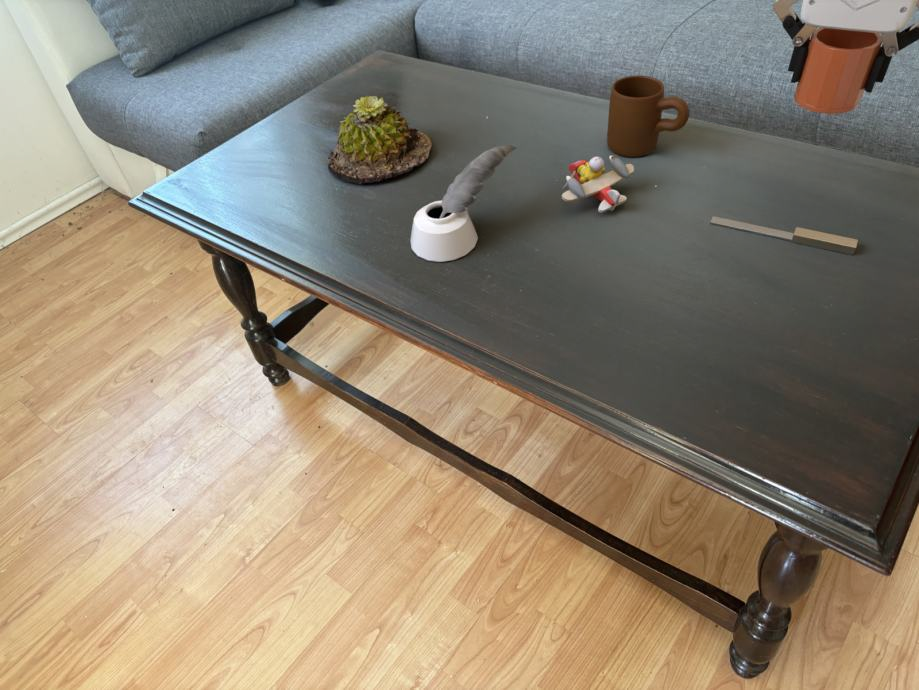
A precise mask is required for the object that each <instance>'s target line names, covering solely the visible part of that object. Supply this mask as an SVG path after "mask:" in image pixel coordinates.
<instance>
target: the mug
mask: <svg viewBox="0 0 919 690" xmlns="http://www.w3.org/2000/svg"><path fill="white" fill-rule="evenodd" d="M608 105H609V106H608V119H607V133H606V134H607V135H606V144H607V147H608V149H609V150H610V151H611V152H612V153H614V154H615V155H618V156H621V157H625V158H639V157H644V156H647V155H648V154H651V153H652V152H653V151H654V150H656V147H657V145H658V141H659V137H660V135H659V134H660V133H661V132H677V131H679V130H681V129H683V128H684V127H685V126H686V124H687V123H688V121H689V118H690V108H689V105H688V103H687V102H686V101H685V100H684V99H683V98H681V97H678V96H667V97H665V85H664V83H663V82H662V81H661V80H660V79H658V78H655V77H653V76H649V75H641V74H639V75H627V76H625V77H622V78H619V79H617V80H616V81H614V82H613V84H612V86H611V91H610V96H609V104H608ZM672 109H673V110H676V111H677V116H676V117H675V118H673V119H672V118H666V117H665V118H662V115H663V111H664V110H672Z"/></svg>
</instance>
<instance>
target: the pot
mask: <svg viewBox="0 0 919 690" xmlns="http://www.w3.org/2000/svg"><path fill="white" fill-rule="evenodd" d="M882 45H883V41H882V35H881V33H870V32H860V31H849V30H839V29H829V28H820V27H818V28H817V29H816V30H815V31H814V32H813V33H812V35H811V36H810V42H809V46H808V50H807V53H806V57H805V60H804V64H803V67H802V70H801V74H800V77H799V81H798V82H797V84H796V87H795V91H794V96H793V98H794V101H795V103H796V104H797V105H798V106H800V107H801V108H803V109H805V110H808V111H811V112H815V113H818V114H828V115H838V114H845V113H849V112H852V111H853V110H855V109H857V108H858V106H860V103H861V101H862V98H863V96H864V93H865V91H864V90H865V87H866V85H867V82H868V79H869V76H870V74H871V71H872V68H873V65H874V63H875V60H876V57H877V55H878V52H879V50H880V47H882Z"/></svg>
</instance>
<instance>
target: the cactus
mask: <svg viewBox="0 0 919 690" xmlns="http://www.w3.org/2000/svg"><path fill="white" fill-rule="evenodd" d="M352 107H353V108H355V109H353V110H352V111H353V112H352V113H351V112H350V113H349V114H348V115H347V116H346V117H345V116H343V118H344V120H340V126H339V129H338V131H339V132H338V135H337V136H338V139H337V142H336V146H335V148H334V149H332V150H331V151H330V152H329V156H328V157H327V167H328V171H329V173H330V174H331V175H333V176H334V177H335V178H336V179H338V180H340V181H342V182H347V183H355V184H356V185H357V184H358V185H362V184H367V183H368V184H369V183H370V184H371V183H375V182H380V181H382V180H383V181H384V180H387V179H388V178H389V179H391V178H396V177H397V176H400V175H403V174H404V173H405V174H407V173H408V172H410V171H412V170H413V169H414V168H416V167H419V166H421V165H422V164H423V163H425V162H426V160H427V159H428V158H429V155H430V152H431V149H432V145H433V144H432V141H431V139H430V137H429V136H428V134H426V133H424V132H422V131H420V130H419V129H417V128H415V127H414V128H411V127H409V125H410V123H408V122H407V119H406V117H404V116H403V115H401V111H397V109H395V107H392V105H390V106H389V105H388V102H385V101H384V98H383V97H382V96H381V97H380V98H378V96H376V95H372V96H371V95H365V97H364V96H361V97H360V99H356V100H355V104H353V105H352Z"/></svg>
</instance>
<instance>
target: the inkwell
mask: <svg viewBox="0 0 919 690" xmlns="http://www.w3.org/2000/svg"><path fill="white" fill-rule="evenodd" d="M516 149H517V147H516V146H515V145H512V144H505V145H504V144H503V145H499V146H495V147H492V148H490V149H488V150H485V151H484V152H482V153H481V154H479V155H478V156H477V157H475V158H474V159H472V160H471V161H470V162H469V163H468V164H467V165H466V166H465V167H464V169H463V170H462V171H461V172H459V173H457V175H456V176H455V178H454V180H453V182H452V183H450V184H449V185H448V187H447V190H446V193H445V194H444V195H443V197H442V199H441V200H435V201H433V202H430V203H428V204H426V205H424V206H422V207H421V208H420V209H419V210H417V212H416V213H415V215H414V217H413V220H412V226H411V233H410V247H411V250H412V251H413V252H414V254H416V257H418V258H421V259H423V260H426V261H428V262H435V263H436V262H437V263H446V262H450V261H452V262H453V261H455V260H458V259H460V258H463V257H465V256H467V255H468V254H469V253H470V252H471V251H472V250H473V249H475V248H476V244H477V242H478V240H479V236H478V233H477V229H476V227H475V225H474V223H473V220H472V218H471V216H470V213H469V211H468V210H469V208H468V207H469V206H471V205H472V204H474V203H475V202H476V201H477V197H476V195H478V194H480V192H482V190H483V188H484V182H485V181H487V180H489V179H490V178H491V177H492V176H493V175H494V174H495V173H496V171H497V169H496V167H498V166H500V165H501V164H502V162H503V161H504V159H505V158H507V157H508V156H509V155H510V153H512V152H514V151H515V150H516Z"/></svg>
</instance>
